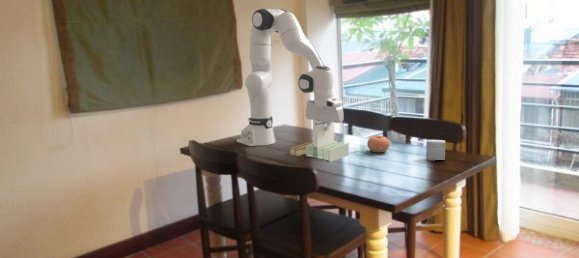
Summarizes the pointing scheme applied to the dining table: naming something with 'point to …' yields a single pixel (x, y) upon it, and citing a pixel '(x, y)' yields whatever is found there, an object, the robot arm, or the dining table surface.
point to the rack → (328, 151)
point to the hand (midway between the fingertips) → (324, 130)
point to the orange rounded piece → (378, 144)
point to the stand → (299, 149)
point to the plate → (323, 133)
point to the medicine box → (435, 150)
